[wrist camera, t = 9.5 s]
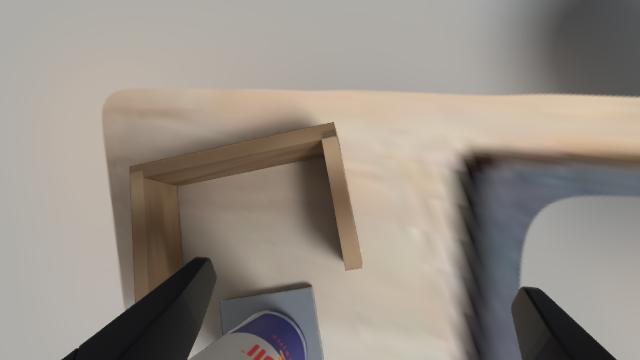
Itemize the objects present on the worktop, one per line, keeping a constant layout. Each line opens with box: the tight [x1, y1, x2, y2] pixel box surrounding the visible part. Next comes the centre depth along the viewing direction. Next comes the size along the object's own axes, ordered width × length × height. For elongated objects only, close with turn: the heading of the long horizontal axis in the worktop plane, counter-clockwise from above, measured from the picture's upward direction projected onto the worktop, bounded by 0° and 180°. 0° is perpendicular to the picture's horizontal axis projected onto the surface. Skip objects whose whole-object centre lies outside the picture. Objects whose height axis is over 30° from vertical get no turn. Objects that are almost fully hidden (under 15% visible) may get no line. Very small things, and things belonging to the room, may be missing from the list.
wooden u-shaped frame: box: [130, 122, 362, 303], centre depth 22 cm, size 10×15×4 cm, turn 100°
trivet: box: [220, 286, 324, 360], centre depth 22 cm, size 7×7×1 cm
